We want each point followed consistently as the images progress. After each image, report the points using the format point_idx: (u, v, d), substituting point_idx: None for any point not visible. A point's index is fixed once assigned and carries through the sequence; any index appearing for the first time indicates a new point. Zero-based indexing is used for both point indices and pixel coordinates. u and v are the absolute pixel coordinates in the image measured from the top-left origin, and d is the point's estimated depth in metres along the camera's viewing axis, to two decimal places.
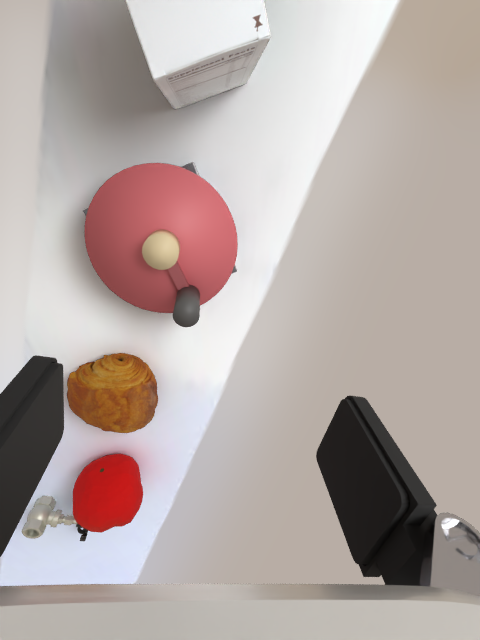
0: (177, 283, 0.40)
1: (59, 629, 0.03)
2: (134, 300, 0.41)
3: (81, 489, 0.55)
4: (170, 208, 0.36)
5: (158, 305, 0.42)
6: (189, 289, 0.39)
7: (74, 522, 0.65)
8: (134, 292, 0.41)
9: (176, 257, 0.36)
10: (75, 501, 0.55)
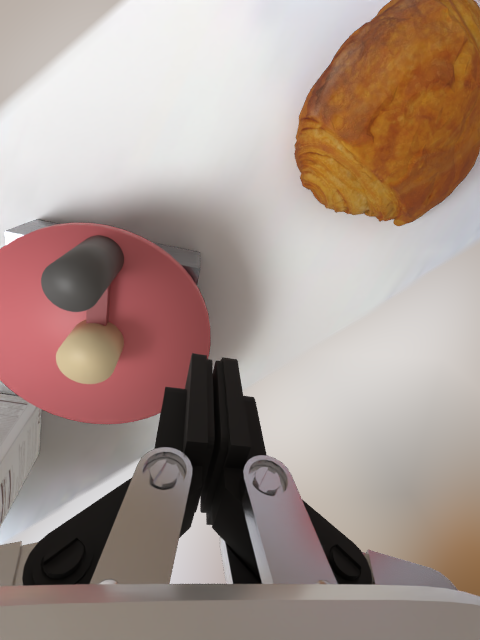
0: None
1: (59, 629, 0.03)
2: (191, 299, 0.25)
3: None
4: (62, 372, 0.26)
5: (162, 270, 0.23)
6: None
7: None
8: (181, 309, 0.25)
9: (64, 345, 0.22)
10: None
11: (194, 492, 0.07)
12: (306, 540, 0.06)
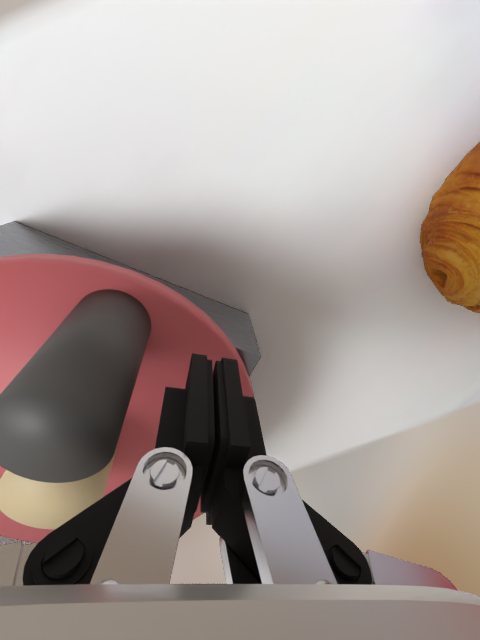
0: None
1: (59, 629, 0.03)
2: None
3: None
4: None
5: (208, 359, 0.14)
6: None
7: None
8: None
9: (15, 474, 0.12)
10: None
11: (194, 492, 0.07)
12: (306, 540, 0.06)
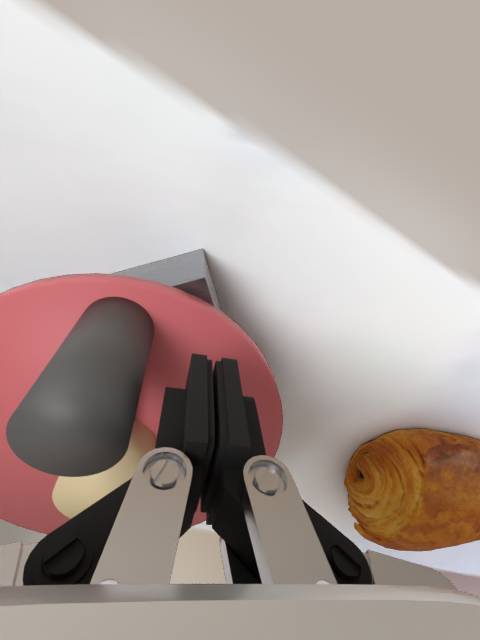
0: None
1: (59, 629, 0.03)
2: (257, 378, 0.16)
3: None
4: None
5: (215, 342, 0.15)
6: None
7: None
8: None
9: (65, 480, 0.13)
10: None
11: (194, 492, 0.07)
12: (306, 540, 0.06)
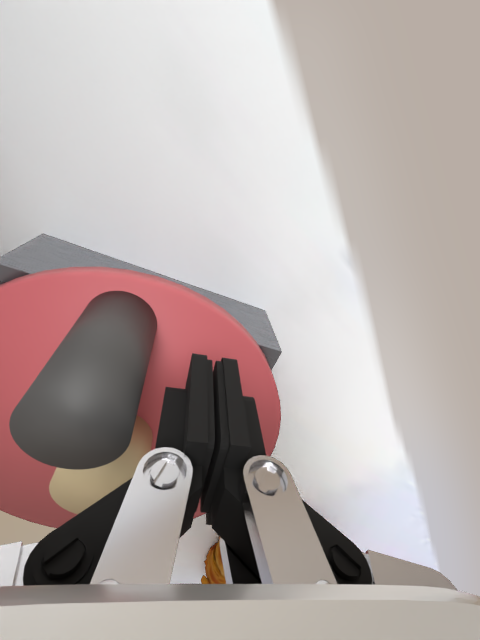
0: None
1: (59, 629, 0.03)
2: (257, 377, 0.16)
3: None
4: None
5: (217, 340, 0.15)
6: None
7: None
8: None
9: (63, 472, 0.13)
10: None
11: (194, 492, 0.07)
12: (306, 540, 0.06)
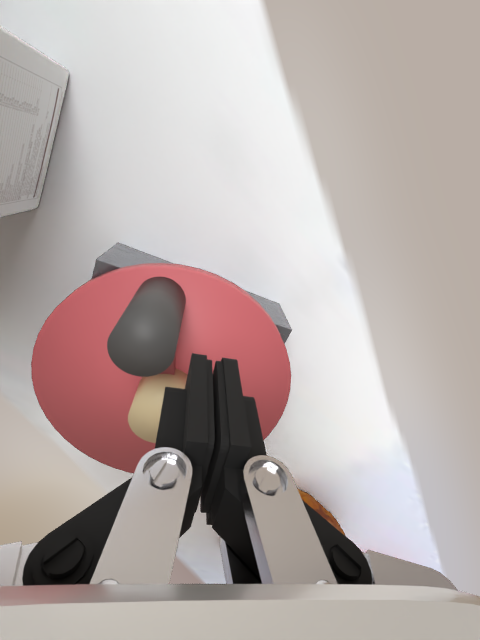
0: None
1: (59, 629, 0.03)
2: (264, 330, 0.21)
3: None
4: None
5: (229, 304, 0.20)
6: None
7: None
8: (254, 343, 0.21)
9: (136, 406, 0.19)
10: None
11: (194, 492, 0.07)
12: (306, 540, 0.06)
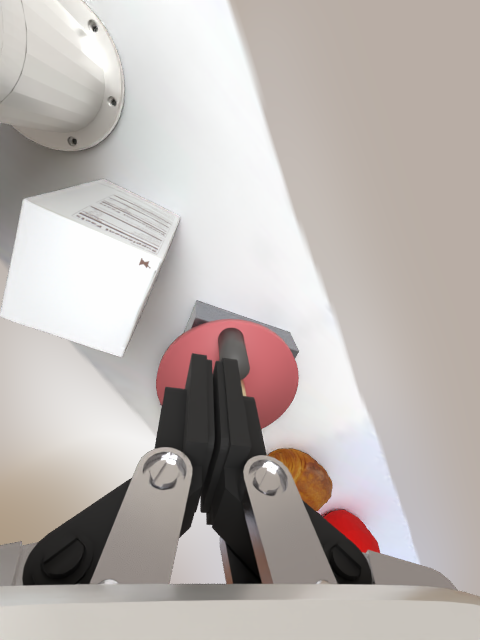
0: None
1: (59, 629, 0.03)
2: (284, 353, 0.39)
3: None
4: None
5: (266, 340, 0.37)
6: None
7: None
8: (278, 360, 0.39)
9: None
10: None
11: (194, 492, 0.07)
12: (306, 540, 0.06)
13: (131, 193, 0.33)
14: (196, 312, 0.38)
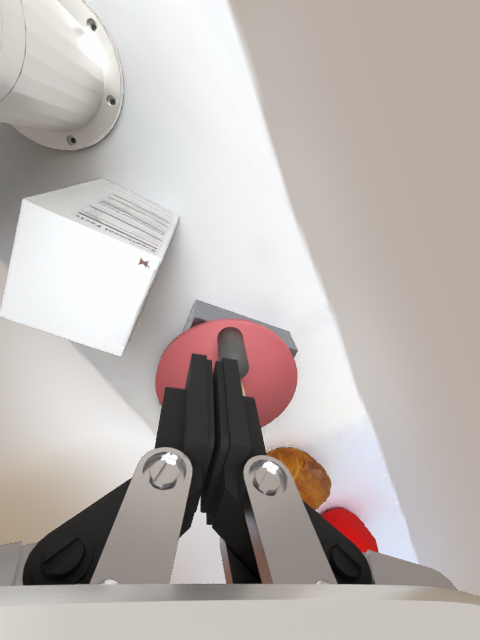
0: None
1: (59, 629, 0.03)
2: (283, 352, 0.39)
3: None
4: None
5: (265, 339, 0.38)
6: None
7: None
8: (277, 359, 0.39)
9: None
10: None
11: (194, 492, 0.07)
12: (306, 540, 0.06)
13: (130, 192, 0.33)
14: (195, 311, 0.38)
